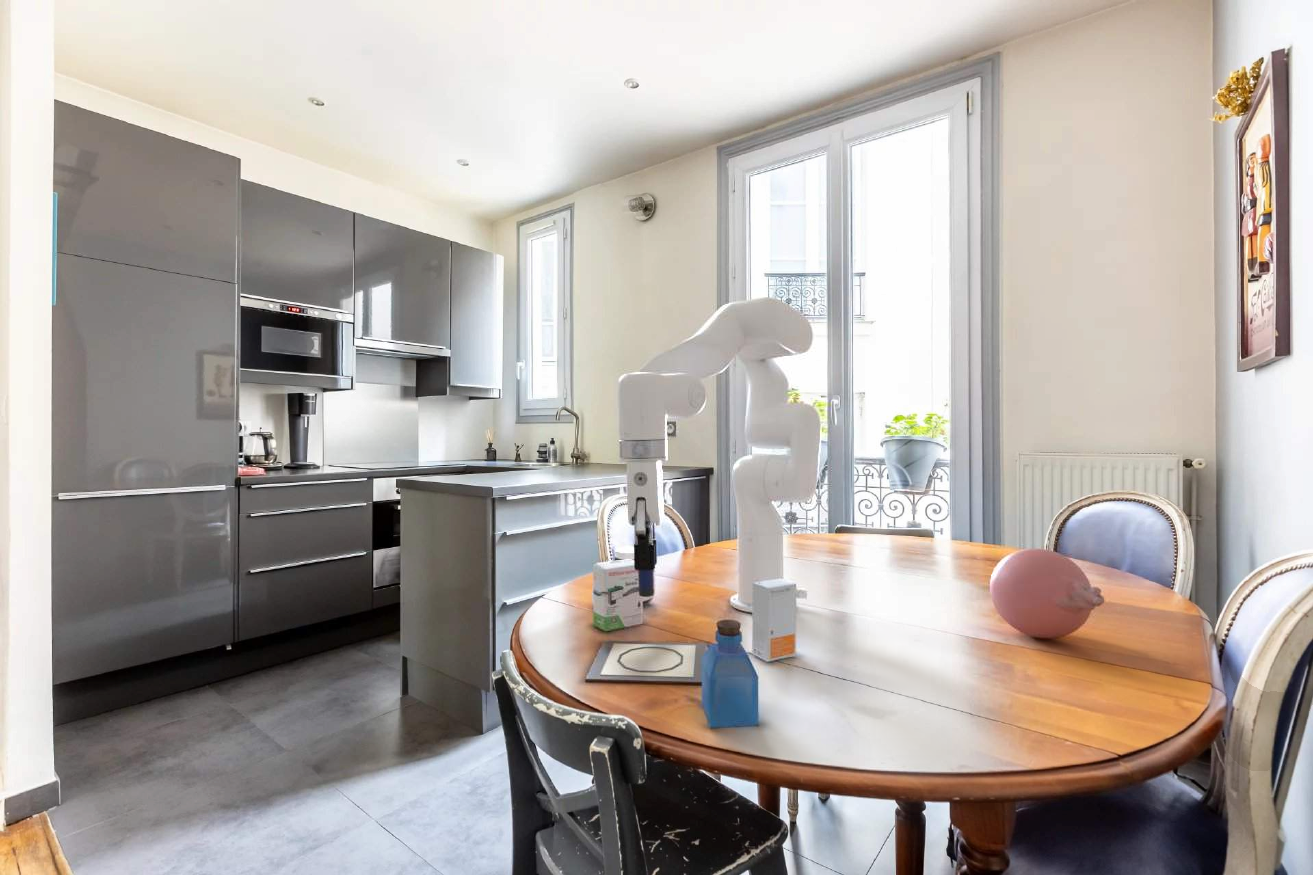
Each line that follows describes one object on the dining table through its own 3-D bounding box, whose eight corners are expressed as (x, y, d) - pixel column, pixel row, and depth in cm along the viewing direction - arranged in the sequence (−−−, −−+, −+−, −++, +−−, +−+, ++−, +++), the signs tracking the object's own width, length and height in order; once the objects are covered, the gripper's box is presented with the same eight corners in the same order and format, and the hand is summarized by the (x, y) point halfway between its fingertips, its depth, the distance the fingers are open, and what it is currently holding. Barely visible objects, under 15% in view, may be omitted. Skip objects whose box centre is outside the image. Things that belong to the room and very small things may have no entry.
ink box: (604, 632, 111) (604, 568, 111) (592, 625, 115) (591, 563, 115) (644, 623, 116) (643, 562, 116) (631, 616, 120) (630, 557, 120)
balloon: (1051, 665, 94) (1052, 566, 94) (971, 623, 114) (971, 542, 114) (1141, 660, 96) (1142, 563, 95) (1047, 620, 115) (1047, 539, 115)
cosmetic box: (767, 663, 96) (767, 588, 96) (751, 654, 100) (751, 582, 99) (797, 656, 99) (797, 583, 98) (780, 648, 102) (780, 577, 102)
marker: (654, 592, 97) (652, 530, 97) (653, 596, 95) (651, 533, 94) (639, 592, 97) (638, 530, 97) (638, 596, 95) (636, 533, 95)
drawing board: (707, 645, 104) (707, 641, 104) (706, 684, 88) (706, 680, 88) (604, 642, 106) (604, 639, 106) (585, 681, 90) (585, 677, 90)
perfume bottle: (702, 705, 82) (701, 616, 82) (747, 702, 82) (746, 615, 82) (709, 727, 76) (709, 632, 75) (758, 725, 76) (757, 630, 76)
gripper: (663, 454, 87) (665, 580, 88) (670, 448, 103) (672, 555, 104) (611, 454, 88) (614, 580, 88) (626, 449, 104) (629, 555, 104)
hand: (645, 566), depth 96 cm, fingers closed on marker, 2 cm apart
